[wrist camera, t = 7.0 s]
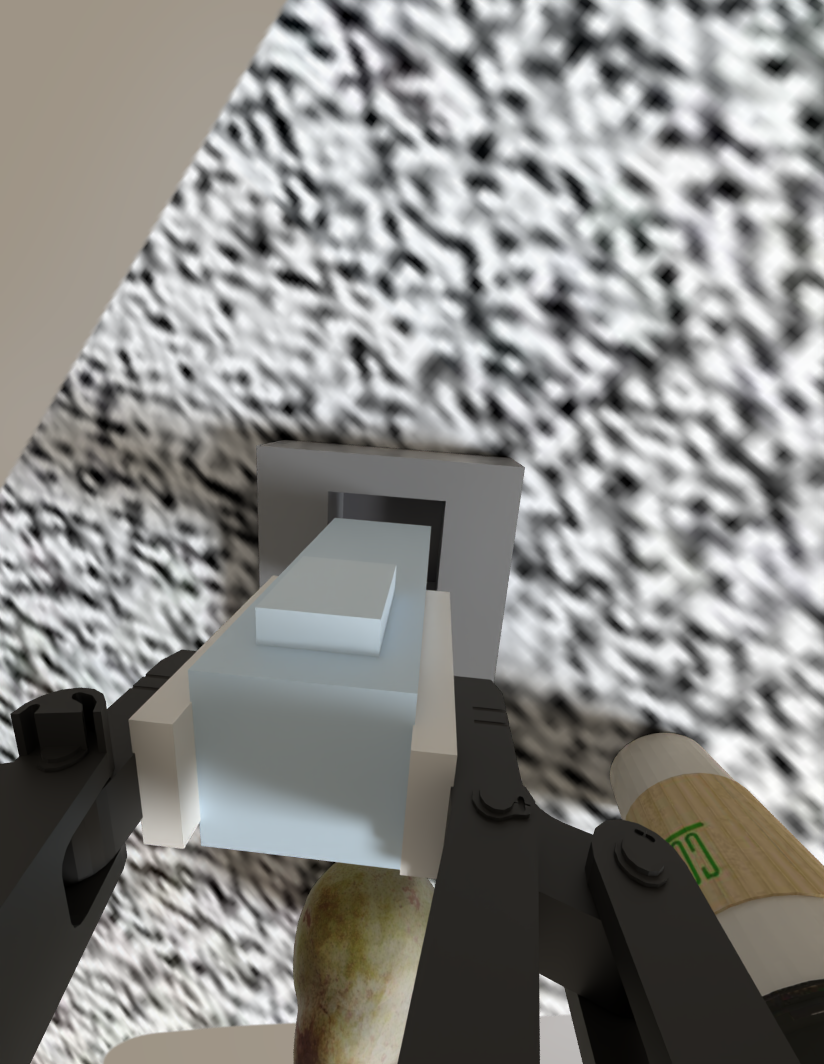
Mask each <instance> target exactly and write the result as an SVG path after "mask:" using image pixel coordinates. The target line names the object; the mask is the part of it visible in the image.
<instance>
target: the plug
mask: <svg viewBox="0 0 824 1064" xmlns="http://www.w3.org/2000/svg"><path fill="white" fill-rule="evenodd" d="M430 535H431V526H422V525H411V524H399V523H388V522H377V521H365V520H354V519H343V518H334V519H333V520H332V521H331V522H330V523H329V524H328V526H327V527H326V528H325V529H324V530H323V531H322V532H321V533H320V534H319V535H318V536H317V537H316V538H315V539H314V540H313V541H312V542H311V543H310V544H309V545H308V546H307V547H306V548H305V549H304V550H303V551H302V552H301V553H300V554H299V556H298V557H297V558H296V559H295V560H294V561H293V562H292V563H291V564H290V565H289V566H288V567H287V568H286V569H285V570H284V571H283V572H282V573H281V574H280V575H279V576H278V577H277V578H276V579H275V580H274V581H273V582H272V583H271V585H270V586H269V587H268V588H267V589H266V590H265V591H264V592H263V593H262V594H261V595H260V596H259V597H258V598H257V599H256V600H255V601H254V602H253V603H252V604H251V605H250V606H249V607H248V608H247V609H246V610H245V611H244V612H243V613H242V615H241V616H240V617H239V618H238V619H237V620H236V621H235V622H234V623H233V624H232V625H231V626H230V627H229V628H228V629H227V630H226V631H225V632H224V633H223V634H222V635H221V636H220V637H219V638H218V639H217V640H216V641H215V642H214V644H213V645H212V646H211V647H210V648H209V649H208V650H207V651H206V652H205V653H204V654H203V655H202V656H201V657H200V658H199V659H198V660H197V661H196V662H195V663H194V664H193V665H192V666H191V667H190V668H189V669H188V679H189V692H190V702H192V711H193V725H194V738H195V751H196V764H197V778H198V791H199V804H200V817H201V820H200V822H199V823H200V836H201V846H207V847H216V848H224V849H232V850H241V851H249V852H257V853H266V854H274V855H282V856H290V857H299V858H307V859H315V860H324V861H332V862H340V863H349V864H357V865H365V866H374V867H382V868H390V869H399V870H400V866H401V854H402V843H403V832H404V821H405V809H406V798H407V787H408V776H409V764H410V753H411V742H412V731H413V725H415V716H416V705H417V694H418V682H419V670H420V657H421V645H422V633H423V621H424V608H425V596H426V584H427V572H428V560H429V547H430Z"/></svg>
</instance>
